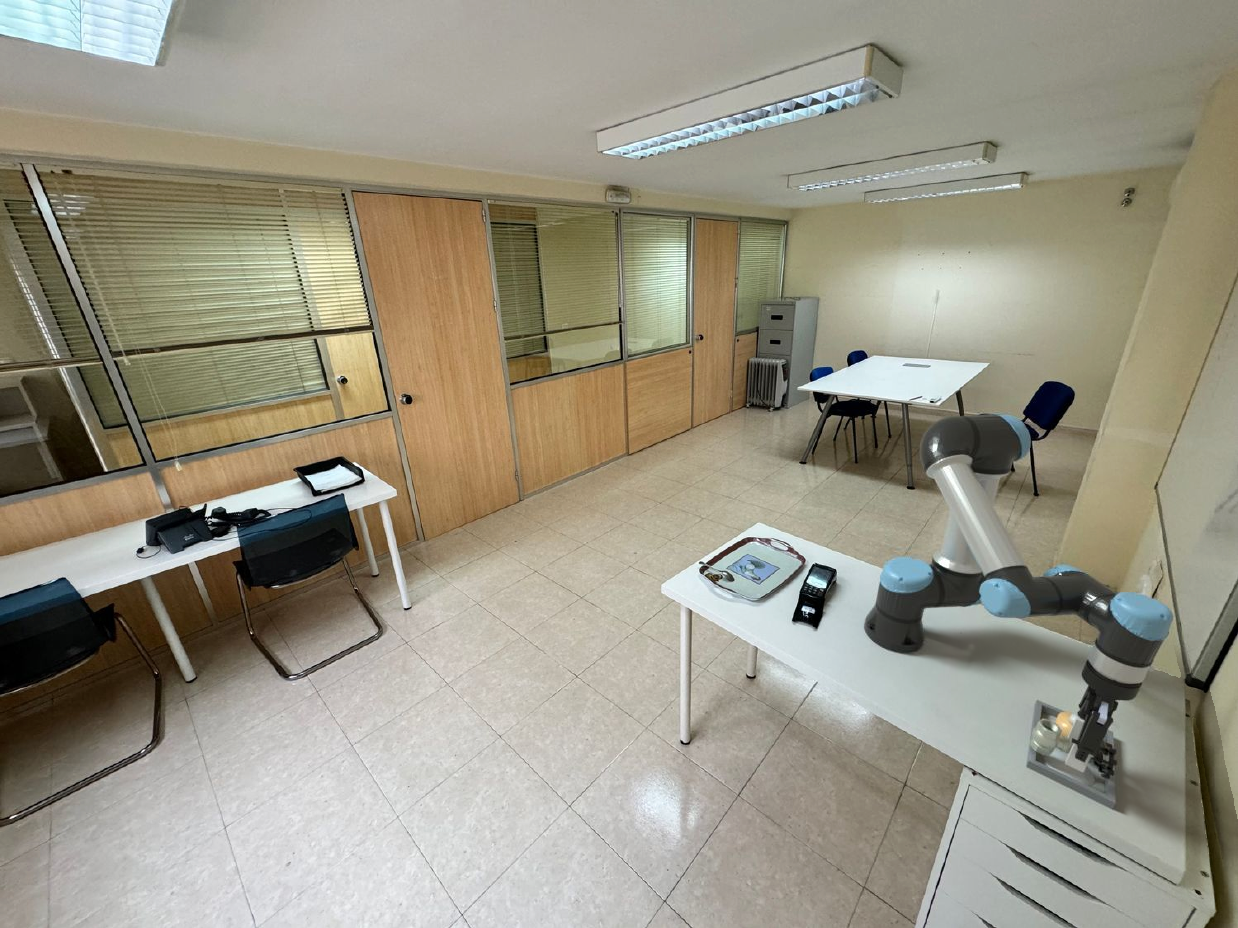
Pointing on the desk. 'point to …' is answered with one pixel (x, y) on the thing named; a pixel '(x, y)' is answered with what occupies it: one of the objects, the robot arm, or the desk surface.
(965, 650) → the desk surface
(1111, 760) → the valve
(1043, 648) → the desk surface
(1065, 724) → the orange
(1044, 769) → the grey divided tray
